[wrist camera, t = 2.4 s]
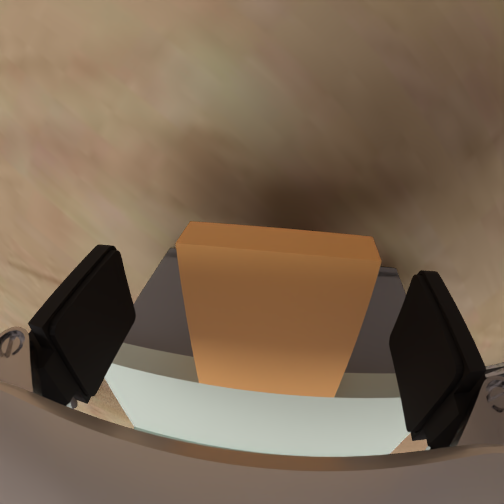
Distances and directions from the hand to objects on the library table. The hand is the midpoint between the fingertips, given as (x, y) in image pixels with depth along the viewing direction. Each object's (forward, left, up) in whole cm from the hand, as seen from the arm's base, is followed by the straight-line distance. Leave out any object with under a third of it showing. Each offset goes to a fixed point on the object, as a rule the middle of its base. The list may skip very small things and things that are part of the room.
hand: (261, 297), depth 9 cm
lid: (0, +11, 0) cm, 11 cm away
